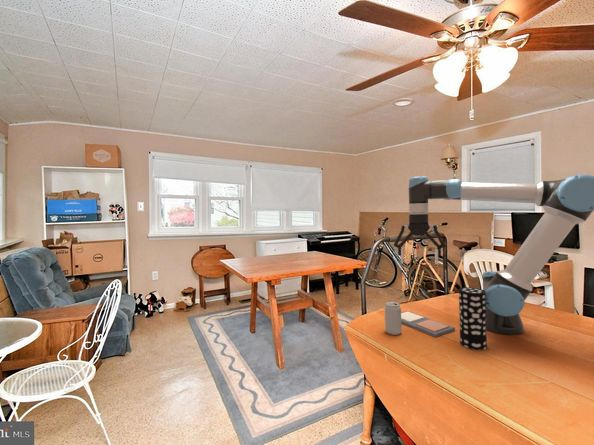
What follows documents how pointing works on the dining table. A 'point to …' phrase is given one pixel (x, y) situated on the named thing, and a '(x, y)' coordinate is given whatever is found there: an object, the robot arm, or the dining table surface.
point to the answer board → (425, 324)
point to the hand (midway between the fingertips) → (418, 263)
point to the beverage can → (393, 318)
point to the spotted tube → (472, 318)
